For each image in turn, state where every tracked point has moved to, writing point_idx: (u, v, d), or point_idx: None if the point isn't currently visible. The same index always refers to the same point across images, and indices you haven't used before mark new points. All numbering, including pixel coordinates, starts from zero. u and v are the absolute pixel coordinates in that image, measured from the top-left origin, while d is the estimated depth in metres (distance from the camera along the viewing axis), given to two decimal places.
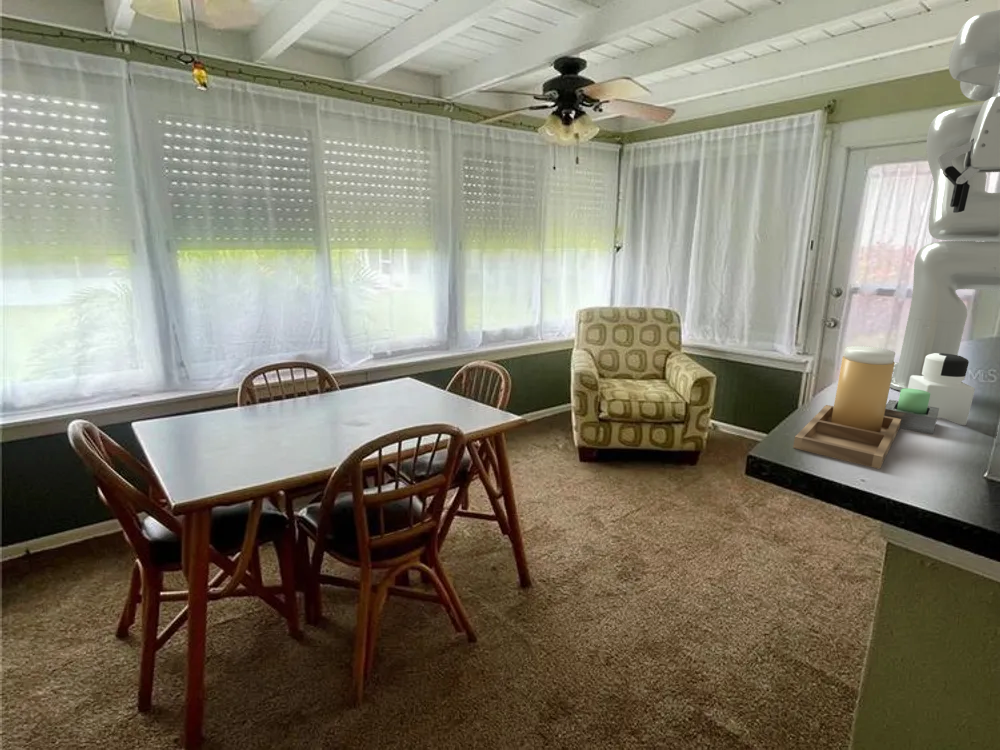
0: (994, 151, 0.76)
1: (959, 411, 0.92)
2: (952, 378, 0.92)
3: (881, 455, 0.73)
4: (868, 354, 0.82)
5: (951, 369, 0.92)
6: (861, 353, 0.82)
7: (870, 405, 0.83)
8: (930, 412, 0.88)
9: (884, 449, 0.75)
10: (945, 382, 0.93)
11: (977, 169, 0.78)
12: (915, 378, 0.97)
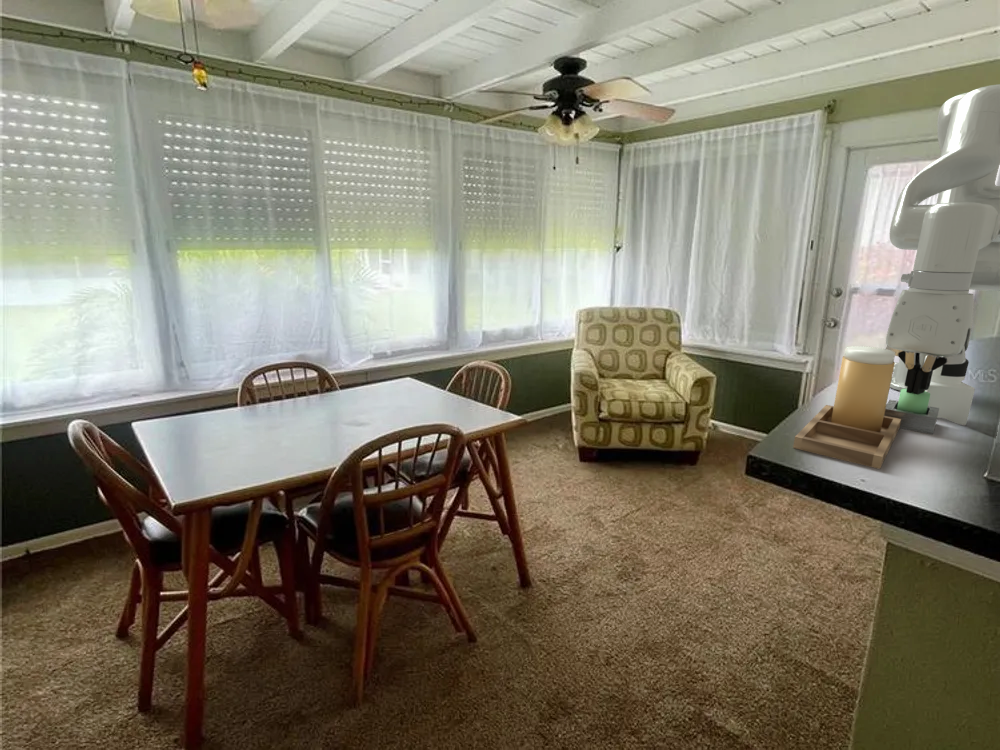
0: None
1: (959, 411, 0.92)
2: (952, 378, 0.92)
3: (881, 455, 0.73)
4: (868, 354, 0.82)
5: (951, 369, 0.92)
6: (861, 353, 0.82)
7: (870, 405, 0.83)
8: (930, 412, 0.88)
9: (884, 449, 0.75)
10: (945, 382, 0.93)
11: None
12: None
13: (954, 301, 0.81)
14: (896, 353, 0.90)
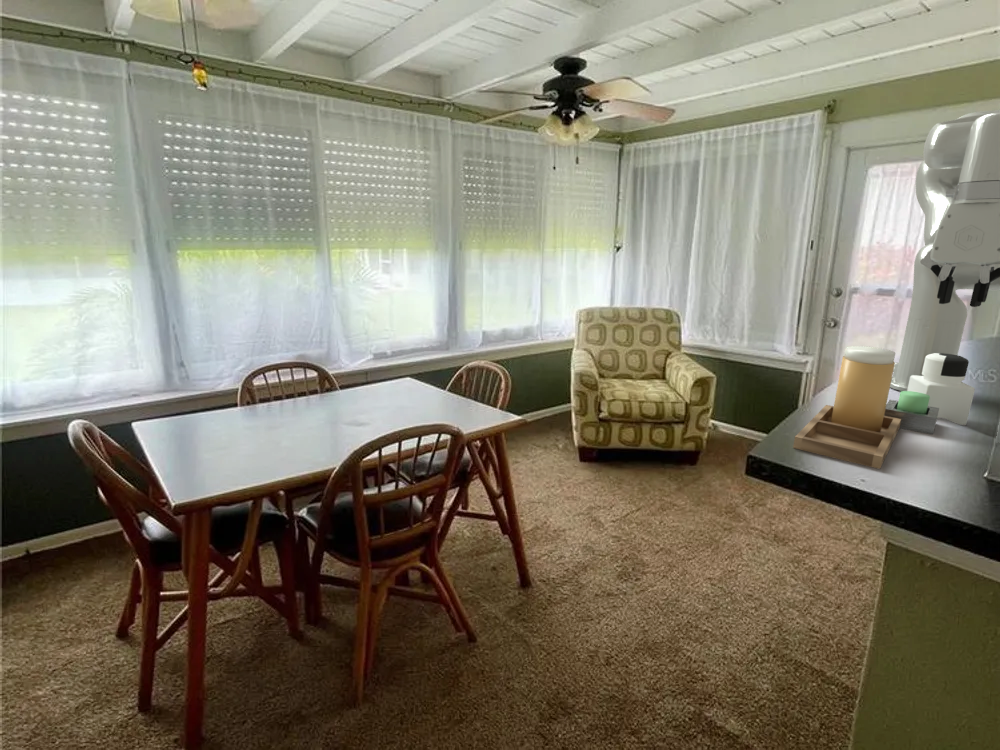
0: None
1: (959, 411, 0.92)
2: (952, 378, 0.92)
3: (881, 455, 0.73)
4: (868, 354, 0.82)
5: (951, 369, 0.92)
6: (861, 353, 0.82)
7: (871, 405, 0.83)
8: (930, 412, 0.88)
9: (884, 449, 0.75)
10: (945, 382, 0.93)
11: None
12: (915, 378, 0.97)
13: None
14: (929, 266, 0.94)
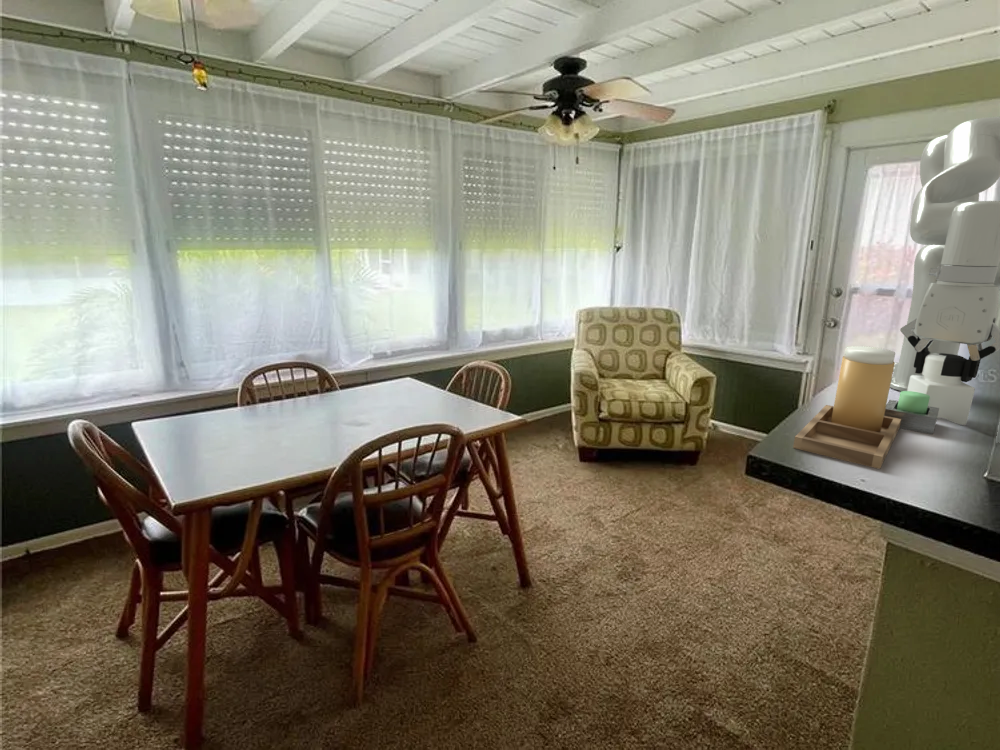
0: None
1: (959, 411, 0.92)
2: (952, 378, 0.92)
3: (881, 455, 0.73)
4: (868, 354, 0.82)
5: (951, 369, 0.92)
6: (861, 353, 0.82)
7: (870, 405, 0.83)
8: (930, 412, 0.88)
9: (884, 449, 0.75)
10: (945, 382, 0.93)
11: None
12: (915, 378, 0.97)
13: (980, 293, 0.87)
14: (907, 335, 0.98)
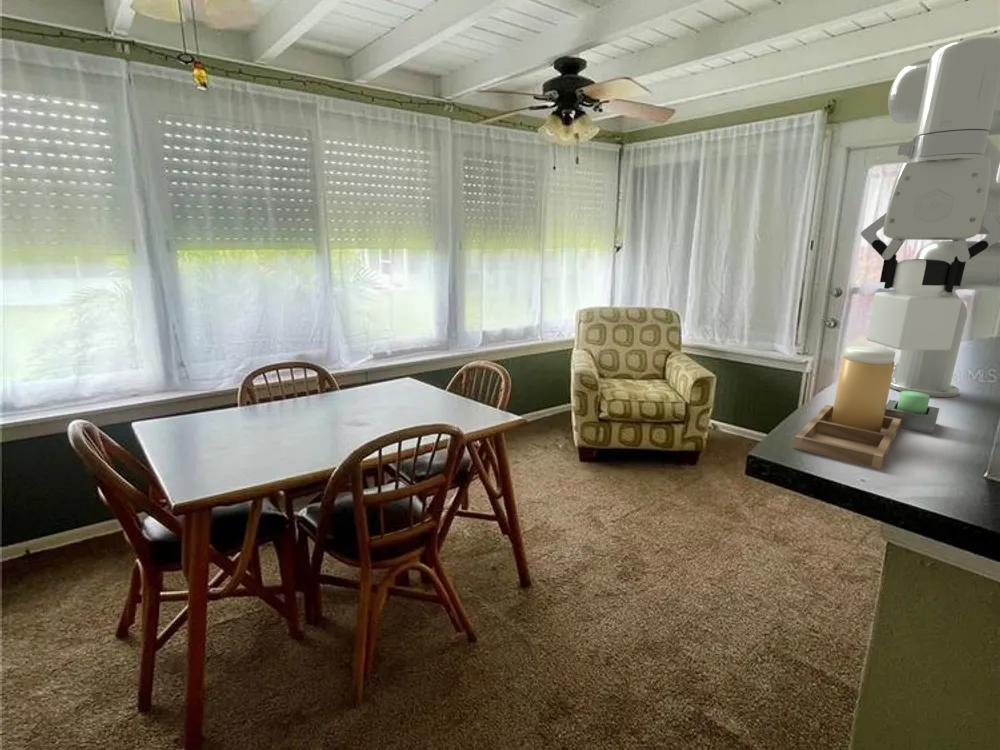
0: None
1: (944, 331, 0.71)
2: (935, 287, 0.70)
3: (881, 455, 0.73)
4: (868, 354, 0.82)
5: (935, 275, 0.69)
6: (861, 353, 0.82)
7: (870, 405, 0.83)
8: (930, 412, 0.88)
9: (884, 449, 0.75)
10: (927, 294, 0.70)
11: None
12: (884, 295, 0.74)
13: (973, 167, 0.65)
14: (871, 240, 0.75)
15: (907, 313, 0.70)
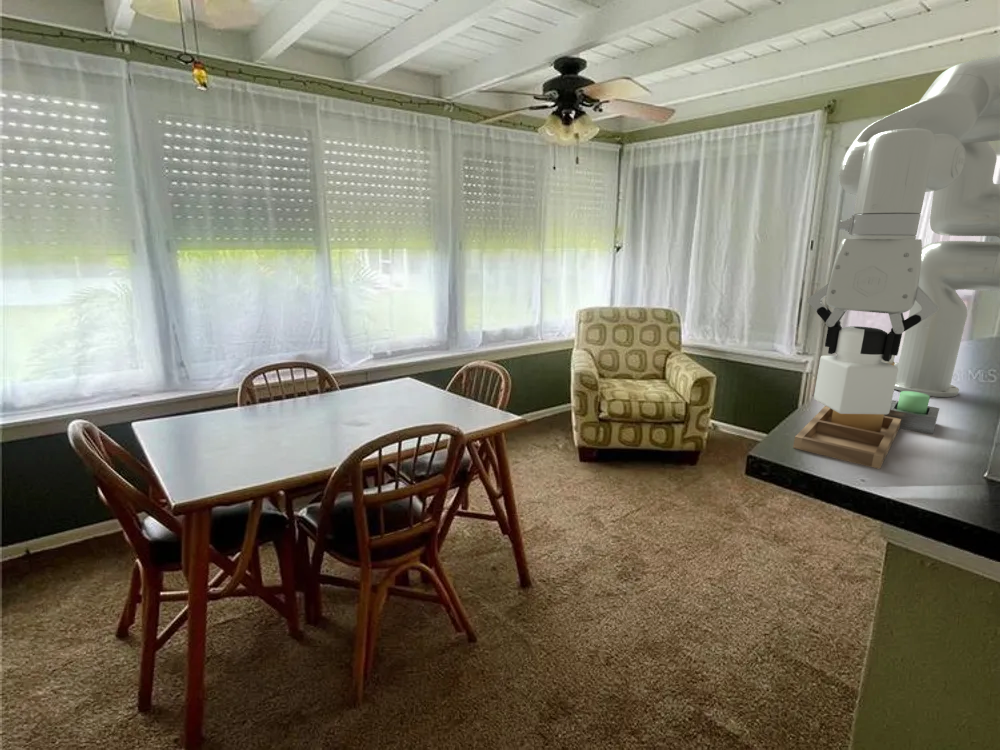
0: None
1: (882, 397, 0.74)
2: (873, 356, 0.73)
3: (881, 455, 0.73)
4: None
5: (872, 345, 0.73)
6: None
7: None
8: (930, 412, 0.88)
9: (884, 449, 0.75)
10: (865, 362, 0.74)
11: None
12: (828, 359, 0.78)
13: (904, 247, 0.69)
14: (816, 307, 0.78)
15: (846, 380, 0.74)
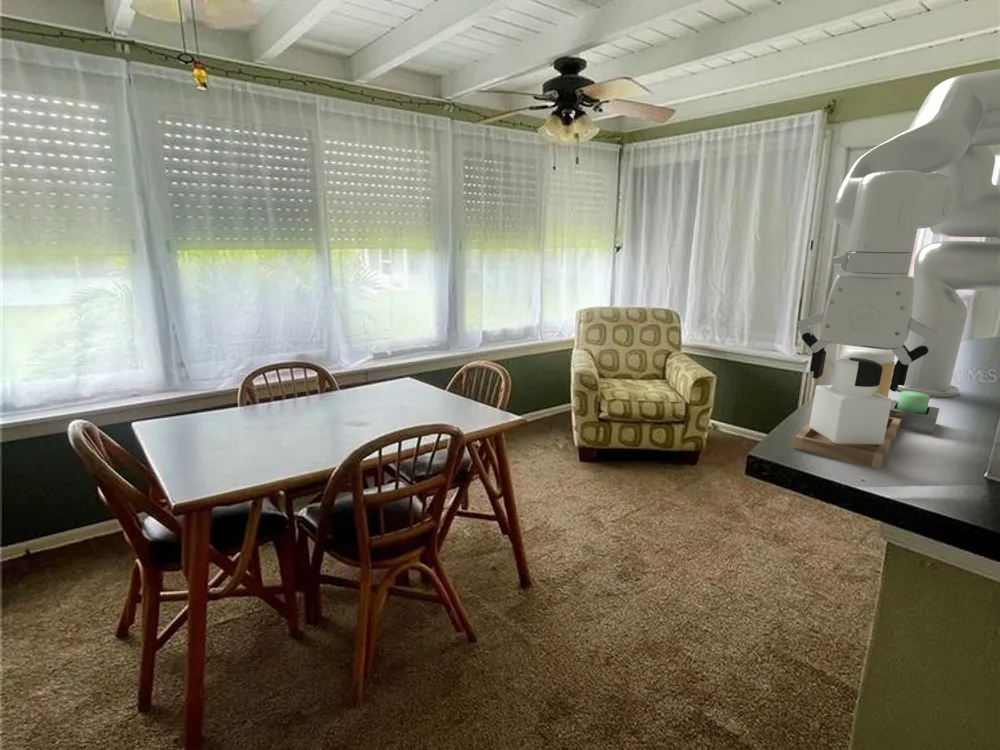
0: None
1: (876, 428, 0.76)
2: (867, 388, 0.75)
3: (881, 455, 0.73)
4: (868, 354, 0.82)
5: (866, 377, 0.74)
6: (861, 353, 0.82)
7: None
8: (930, 412, 0.88)
9: (884, 449, 0.75)
10: (860, 394, 0.75)
11: None
12: (823, 389, 0.79)
13: (897, 286, 0.70)
14: (802, 331, 0.80)
15: (841, 412, 0.75)
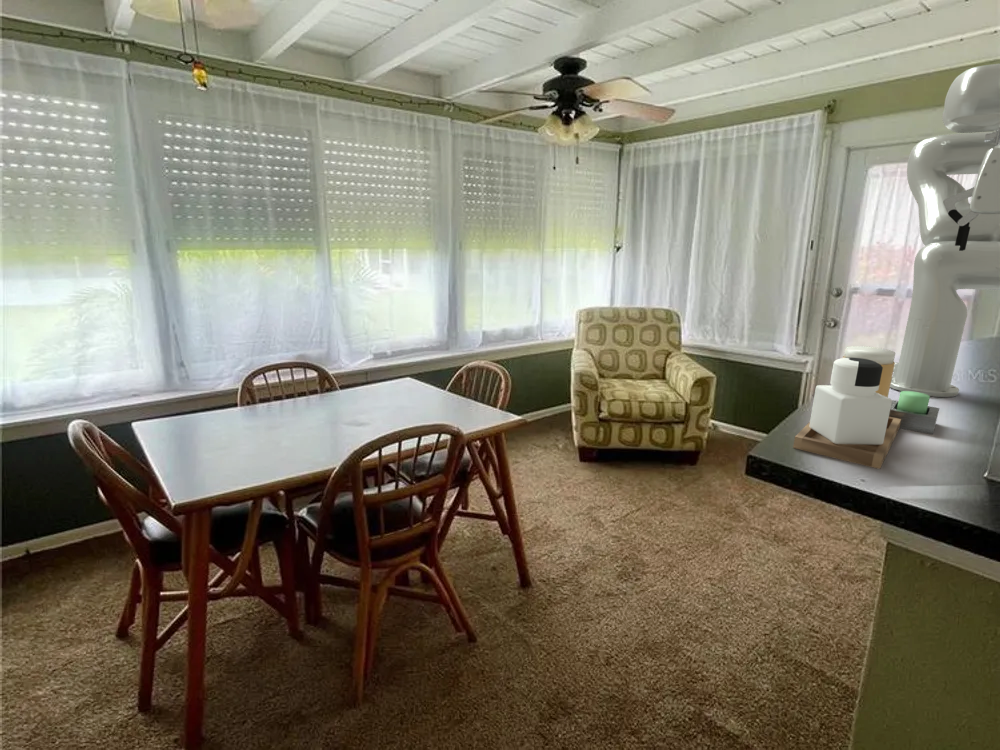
0: None
1: (876, 428, 0.76)
2: (867, 388, 0.75)
3: (881, 455, 0.73)
4: (868, 354, 0.82)
5: (866, 377, 0.74)
6: (861, 353, 0.82)
7: None
8: (930, 412, 0.88)
9: (884, 449, 0.75)
10: (860, 394, 0.75)
11: None
12: (823, 389, 0.79)
13: None
14: (949, 208, 0.88)
15: (841, 412, 0.75)
